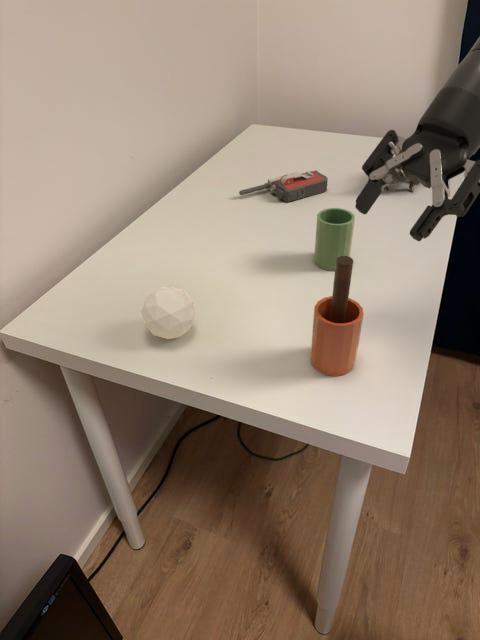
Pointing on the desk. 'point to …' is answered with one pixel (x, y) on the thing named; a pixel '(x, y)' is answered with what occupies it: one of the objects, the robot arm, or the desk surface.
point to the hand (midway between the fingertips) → (385, 223)
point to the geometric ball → (168, 312)
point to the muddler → (341, 289)
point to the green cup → (333, 236)
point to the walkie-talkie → (293, 185)
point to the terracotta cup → (335, 338)
